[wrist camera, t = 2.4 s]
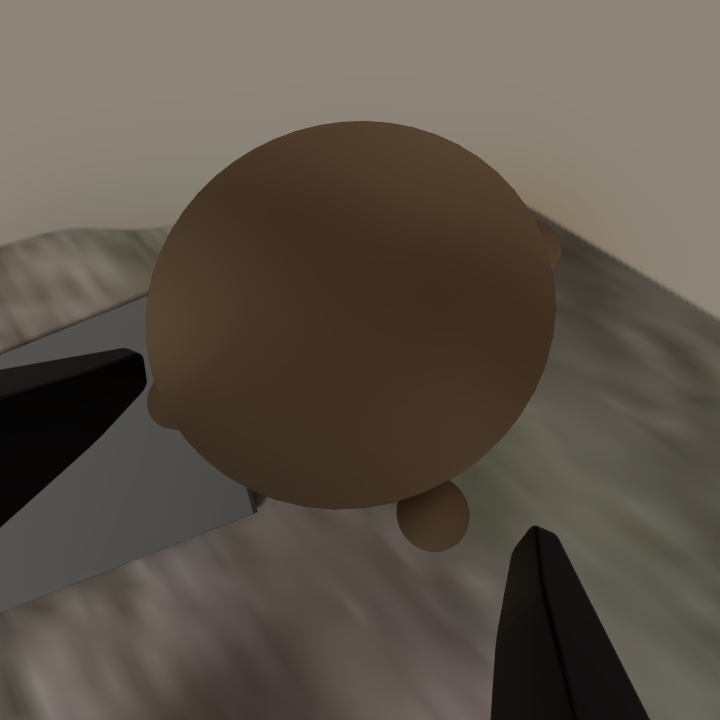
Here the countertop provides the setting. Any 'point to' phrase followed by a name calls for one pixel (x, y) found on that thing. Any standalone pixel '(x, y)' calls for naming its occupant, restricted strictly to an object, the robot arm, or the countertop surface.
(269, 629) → the countertop surface
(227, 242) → the stool
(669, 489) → the countertop surface
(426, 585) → the countertop surface
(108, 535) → the mat
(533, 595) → the robot arm
